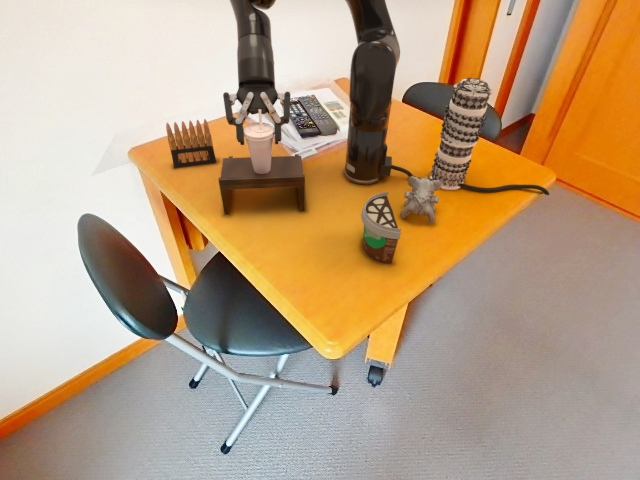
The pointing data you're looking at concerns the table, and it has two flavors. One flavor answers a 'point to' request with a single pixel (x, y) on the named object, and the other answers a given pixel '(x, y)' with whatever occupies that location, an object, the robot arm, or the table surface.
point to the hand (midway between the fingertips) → (259, 143)
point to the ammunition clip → (190, 149)
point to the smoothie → (260, 144)
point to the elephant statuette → (421, 197)
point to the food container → (379, 229)
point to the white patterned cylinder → (460, 132)
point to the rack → (261, 177)
